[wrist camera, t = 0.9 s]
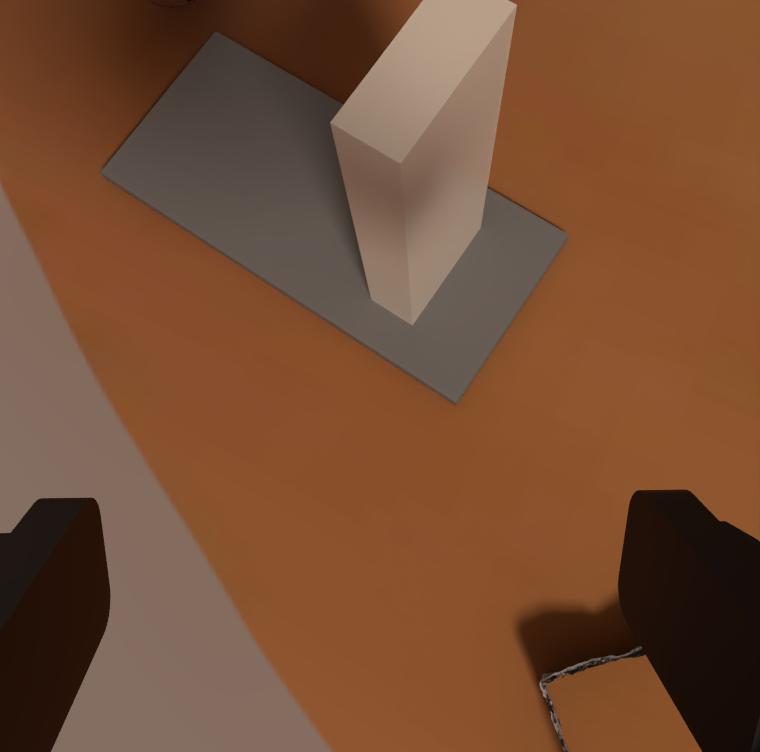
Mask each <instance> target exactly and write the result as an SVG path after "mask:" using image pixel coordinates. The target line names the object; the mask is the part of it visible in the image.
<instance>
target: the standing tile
mask: <svg viewBox="0 0 760 752" xmlns="http://www.w3.org/2000/svg"><path fill="white" fill-rule="evenodd" d="M516 7H517V5H516V4H514V3H512V2H510V1H508V0H423V1H422V2H421V4H420V5H419V6H418V8H417V9H416V10H415V12H414V13H413V14H412V16H411V17H410V18H409V20H408V21H407V22H406V24H405V25H404V26H403V27H402V29H401V30H400V31H399V33H398V34H397V35H396V37H395V38H394V39H393V41H392V42H391V43H390V45H389V46H388V47H387V48H386V50H385V51H384V52H383V54H382V55H381V56H380V58H379V59H378V60H377V62H376V63H375V64H374V66H373V67H372V68H371V70H370V71H369V72H368V73H367V75H366V76H365V77H364V79H363V80H362V81H361V83H360V84H359V85H358V87H357V88H356V89H355V91H354V92H353V93H352V95H351V96H350V97H349V98H348V100H347V101H346V102H345V104H344V105H343V106H342V108H341V109H340V110H339V112H338V113H337V114H336V116H335V117H334V118H333V120H332V121H331V122H330V124H331V129H332V133H333V137H334V142H335V146H336V150H337V154H338V159H339V163H340V167H341V172H342V176H343V180H344V185H345V189H346V193H347V198H348V202H349V206H350V210H351V215H352V219H353V223H354V228H355V232H356V236H357V241H358V245H359V249H360V253H361V258H362V262H363V266H364V271H365V275H366V279H367V284H368V288H369V292H370V296H371V300H373V301H374V302H376V303H377V304H379V305H381V306H382V307H384V308H385V309H387V310H389V311H390V312H392V313H393V314H395V315H396V316H398V317H400V318H401V319H403V320H404V321H406V322H407V323H409V324H411V325H413V324H414V323H415V321H416V320H417V318H418V317H419V315H420V314H421V313H422V311H423V310H424V308H425V307H426V305H427V304H428V303H429V301H430V300H431V298H432V297H433V295H434V294H435V293H436V291H437V290H438V288H439V287H440V285H441V284H442V282H443V281H444V280H445V278H446V277H447V275H448V274H449V272H450V271H451V270H452V268H453V267H454V265H455V264H456V262H457V261H458V260H459V258H460V257H461V255H462V254H463V252H464V251H465V249H466V248H467V247H468V245H469V244H470V242H471V241H472V239H473V238H474V237H475V235H476V234H477V232H478V231H479V229H480V228H481V222H482V216H483V210H484V204H485V198H486V192H487V185H488V179H489V173H490V167H491V161H492V155H493V148H494V142H495V136H496V130H497V124H498V118H499V112H500V105H501V99H502V93H503V87H504V81H505V75H506V68H507V62H508V56H509V50H510V44H511V38H512V32H513V25H514V19H515V13H516Z"/></svg>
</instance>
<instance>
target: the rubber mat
mask: <svg viewBox="0 0 760 752" xmlns="http://www.w3.org/2000/svg"><path fill="white" fill-rule="evenodd" d="M342 106H343V104H342V103H340V102H338V101H336V100H335V99H333V98H331V97H329V96H328V95H326V94H324V93H323V92H321V91H319V90H317V89H316V88H314V87H312V86H310V85H309V84H307V83H305V82H303V81H302V80H300V79H298V78H297V77H295V76H293V75H291V74H290V73H288V72H286V71H284V70H283V69H281V68H279V67H278V66H276V65H274V64H272V63H271V62H269V61H267V60H265V59H264V58H262V57H260V56H258V55H257V54H255V53H253V52H252V51H250V50H248V49H246V48H245V47H243V46H241V45H239V44H238V43H236V42H234V41H232V40H231V39H229V38H227V37H226V36H224V35H222V34H220V33H219V32H217V31H215V32H214V33H213V34H212V36H211V37H210V38H209V39H208V41H207V42H206V43H205V44H204V45H203V47H202V48H201V49H200V50H199V52H198V53H197V54H196V55H195V57H194V58H193V59H192V60H191V61H190V63H189V64H188V65H187V66H186V68H185V69H184V70H183V71H182V72H181V74H180V75H179V76H178V77H177V79H176V80H175V81H174V82H173V84H172V85H171V86H170V87H169V88H168V90H167V91H166V92H165V93H164V95H163V96H162V97H161V98H160V100H159V101H158V102H157V103H156V104H155V106H154V107H153V108H152V109H151V111H150V112H149V113H148V114H147V115H146V117H145V118H144V119H143V120H142V122H141V123H140V124H139V125H138V127H137V128H136V129H135V130H134V131H133V133H132V134H131V135H130V136H129V138H128V139H127V140H126V141H125V143H124V144H123V145H122V146H121V147H120V149H119V150H118V151H117V152H116V154H115V155H114V156H113V157H112V158H111V160H110V161H109V162H108V163H107V165H106V166H105V167H104V168H103V170H102V171H101V172H100V173H101V174H102V175H103V176H104V177H105V178H106V179H107V180H109V181H110V182H112V183H113V184H115V185H116V186H118V187H120V188H121V189H123V190H124V191H126V192H127V193H129V194H130V195H132V196H133V197H135V198H136V199H138V200H140V201H141V202H143V203H144V204H146V205H147V206H149V207H150V208H152V209H153V210H155V211H157V212H158V213H160V214H161V215H163V216H164V217H166V218H167V219H169V220H170V221H172V222H174V223H175V224H177V225H178V226H180V227H181V228H183V229H184V230H186V231H187V232H189V233H190V234H192V235H194V236H195V237H197V238H198V239H200V240H201V241H203V242H204V243H206V244H207V245H209V246H211V247H212V248H214V249H215V250H217V251H218V252H220V253H221V254H223V255H224V256H226V257H227V258H229V259H231V260H232V261H234V262H235V263H237V264H238V265H240V266H241V267H243V268H244V269H246V270H248V271H249V272H251V273H252V274H254V275H255V276H257V277H258V278H260V279H261V280H263V281H265V282H266V283H268V284H269V285H271V286H272V287H274V288H275V289H277V290H278V291H280V292H281V293H283V294H285V295H286V296H288V297H289V298H291V299H292V300H294V301H295V302H297V303H298V304H300V305H302V306H303V307H305V308H306V309H308V310H309V311H311V312H312V313H314V314H315V315H317V316H319V317H320V318H322V319H323V320H325V321H326V322H328V323H329V324H331V325H332V326H334V327H335V328H337V329H339V330H340V331H342V332H343V333H345V334H346V335H348V336H349V337H351V338H352V339H354V340H356V341H357V342H359V343H360V344H362V345H363V346H365V347H366V348H368V349H369V350H371V351H373V352H374V353H376V354H377V355H379V356H380V357H382V358H383V359H385V360H386V361H388V362H389V363H391V364H393V365H394V366H396V367H397V368H399V369H400V370H402V371H403V372H405V373H406V374H408V375H410V376H411V377H413V378H414V379H416V380H417V381H419V382H420V383H422V384H423V385H425V386H426V387H428V388H430V389H431V390H433V391H434V392H436V393H437V394H439V395H440V396H442V397H443V398H445V399H447V400H448V401H450V402H451V403H453V404H454V405H457V403H458V402H459V400H460V399H461V397H462V396H463V394H464V393H465V391H466V390H467V388H468V387H469V385H470V384H471V382H472V381H473V379H474V378H475V376H476V375H477V373H478V372H479V370H480V369H481V367H482V366H483V364H484V363H485V362H486V360H487V359H488V357H489V356H490V354H491V353H492V351H493V350H494V348H495V347H496V345H497V344H498V342H499V341H500V339H501V338H502V336H503V335H504V333H505V332H506V330H507V329H508V327H509V326H510V324H511V323H512V321H513V320H514V318H515V317H516V315H517V314H518V312H519V311H520V309H521V308H522V306H523V305H524V303H525V302H526V300H527V299H528V297H529V296H530V294H531V293H532V292H533V290H534V289H535V287H536V286H537V284H538V283H539V281H540V280H541V278H542V277H543V275H544V274H545V272H546V271H547V269H548V268H549V266H550V265H551V263H552V262H553V260H554V259H555V257H556V256H557V254H558V253H559V251H560V250H561V248H562V247H563V245H564V244H565V242H566V241H567V239H568V237H569V234H567V233H565V232H563V231H562V230H560V229H558V228H557V227H555V226H553V225H551V224H550V223H548V222H546V221H544V220H543V219H541V218H539V217H537V216H536V215H534V214H532V213H531V212H529V211H527V210H525V209H524V208H522V207H520V206H518V205H517V204H515V203H513V202H511V201H510V200H508V199H506V198H505V197H503V196H501V195H499V194H498V193H496V192H494V191H492V190H491V189H489V188H487V192H486V198H485V204H484V210H483V216H482V222H481V228H480V229H479V231H478V232H477V234H476V235H475V237H474V238H473V239H472V241H471V242H470V244H469V245H468V247H467V248H466V249H465V251H464V252H463V254H462V255H461V257H460V258H459V260H458V261H457V262H456V264H455V265H454V267H453V268H452V270H451V271H450V272H449V274H448V275H447V277H446V278H445V280H444V281H443V282H442V284H441V285H440V287H439V288H438V290H437V291H436V293H435V294H434V295H433V297H432V298H431V300H430V301H429V303H428V304H427V305H426V307H425V308H424V310H423V311H422V313H421V314H420V315H419V317H418V318H417V320H416V321H415V323H414V324H413V325H411V324H409V323H407V322H406V321H404V320H403V319H401V318H400V317H398V316H396V315H395V314H393V313H392V312H390V311H389V310H387V309H385V308H384V307H382V306H381V305H379V304H377V303H376V302H374V301H373V300H371V296H370V292H369V288H368V284H367V279H366V275H365V271H364V266H363V262H362V258H361V253H360V249H359V245H358V241H357V236H356V232H355V228H354V223H353V219H352V215H351V210H350V206H349V202H348V198H347V193H346V189H345V185H344V180H343V176H342V172H341V167H340V163H339V159H338V154H337V150H336V146H335V142H334V137H333V133H332V129H331V124H330V122H331V121H332V120H333V118H334V117H335V116H336V114H337V113H338V112H339V110H340V109H341V108H342Z"/></svg>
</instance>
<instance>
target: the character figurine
mask: <svg viewBox="0 0 760 752" xmlns="http://www.w3.org/2000/svg"><path fill="white" fill-rule="evenodd" d="M148 1H149V2H152V3H154V4H157V5H160V6H164V7H180V6H185V5H188V4H190V3H192V2H194V1H195V0H148Z"/></svg>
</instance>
